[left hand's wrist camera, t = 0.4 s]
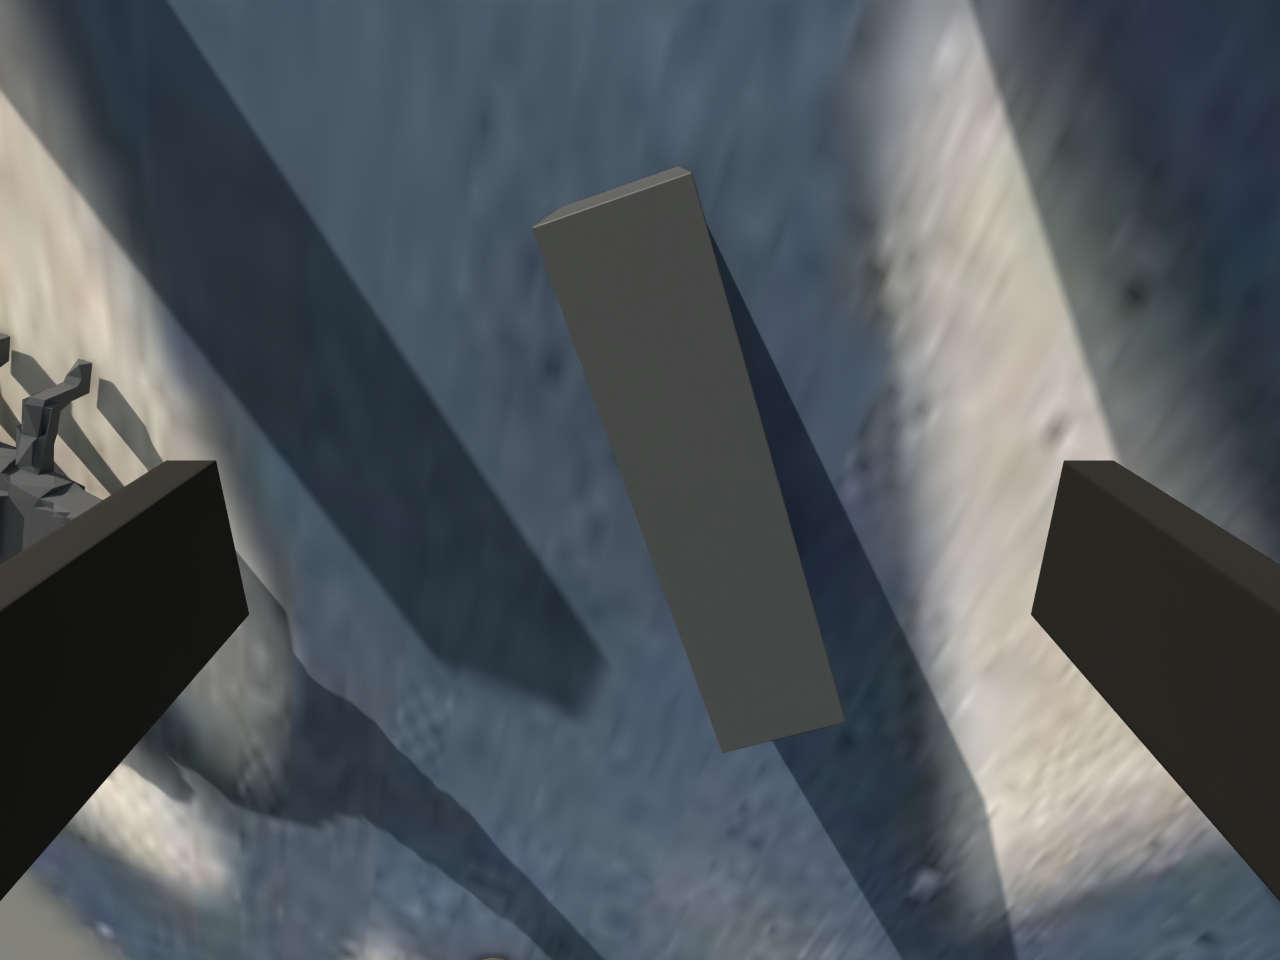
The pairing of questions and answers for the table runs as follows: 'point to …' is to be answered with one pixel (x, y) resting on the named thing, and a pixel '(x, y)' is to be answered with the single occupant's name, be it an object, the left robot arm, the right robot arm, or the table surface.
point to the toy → (39, 467)
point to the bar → (692, 451)
